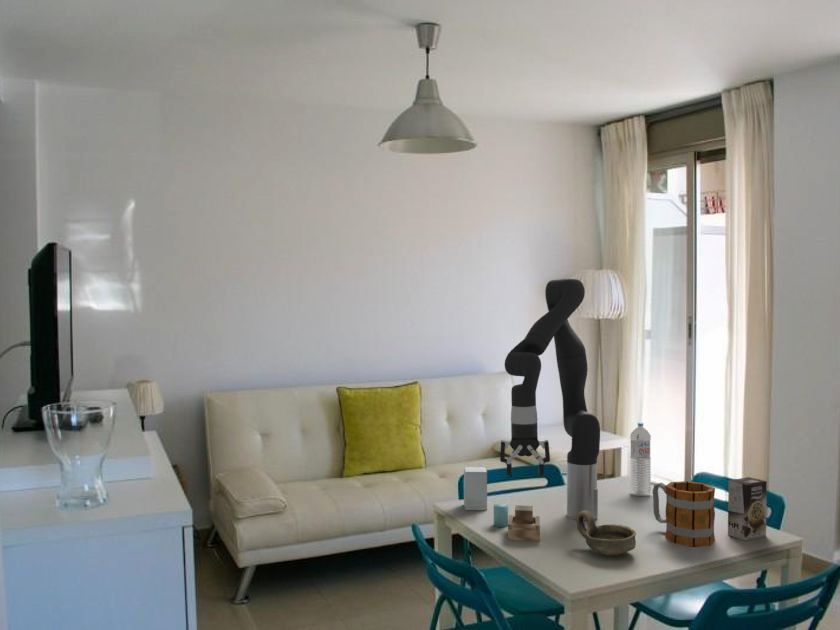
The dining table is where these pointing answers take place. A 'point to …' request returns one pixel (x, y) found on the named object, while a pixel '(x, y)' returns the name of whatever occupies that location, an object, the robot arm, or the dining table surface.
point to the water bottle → (640, 462)
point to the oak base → (524, 529)
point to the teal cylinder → (500, 515)
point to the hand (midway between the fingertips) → (525, 476)
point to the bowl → (606, 536)
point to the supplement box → (475, 488)
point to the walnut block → (523, 514)
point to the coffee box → (747, 508)
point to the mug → (687, 512)
